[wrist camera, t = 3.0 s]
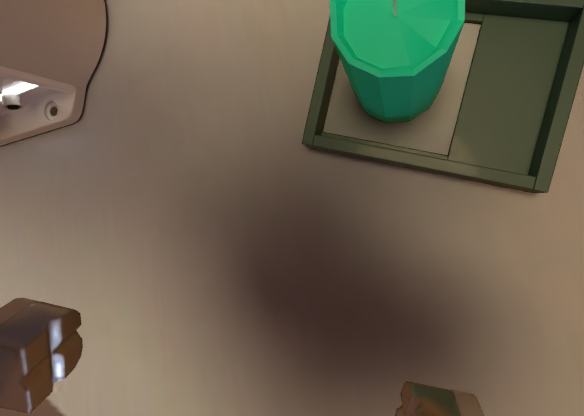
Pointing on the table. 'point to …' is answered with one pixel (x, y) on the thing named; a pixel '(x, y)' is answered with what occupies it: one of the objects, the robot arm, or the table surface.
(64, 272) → the table surface
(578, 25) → the tray
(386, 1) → the candle
